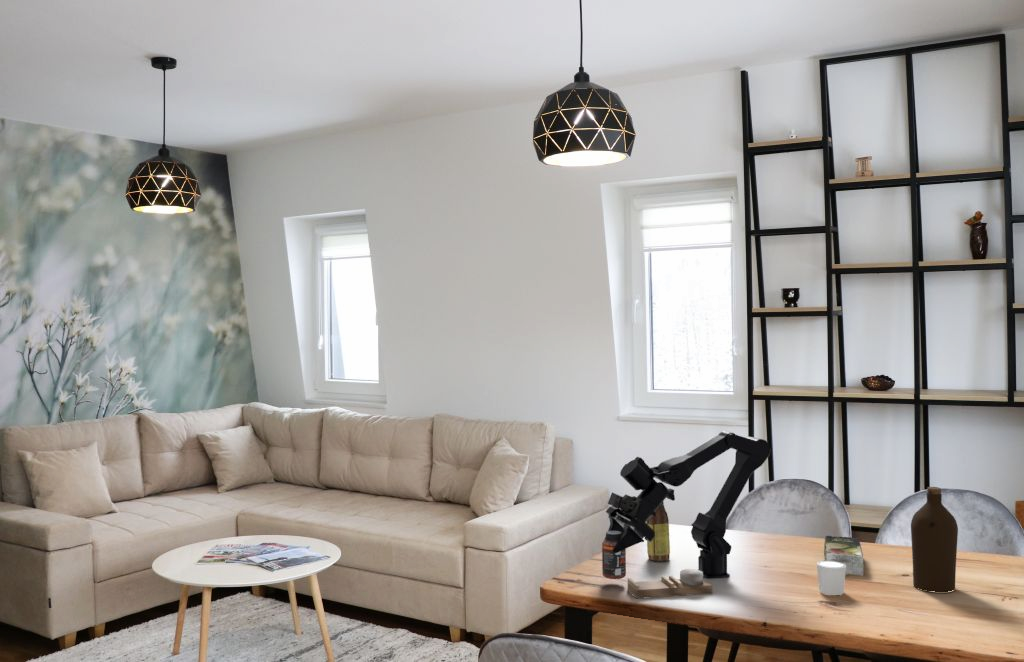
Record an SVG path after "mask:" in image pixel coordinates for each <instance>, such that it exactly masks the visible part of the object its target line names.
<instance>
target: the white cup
mask: <svg viewBox="0 0 1024 662" xmlns="http://www.w3.org/2000/svg"><path fill="white" fill-rule="evenodd" d="M816 571H817V580H818V581H817V582H818V583H817V584H818V591H820V592H821V593H820V592H819V593H820V594H822V593H823V594H822V595H825V594H827V595H826V596H830V595H840V596H843V595H844V593H845V583H846V581H845V580H846V574H845V573H846V565H845V564H843V563H841V562H836V561H825V560H821V561H820V560H819V561H817V562H816ZM842 594H843V595H842Z"/></svg>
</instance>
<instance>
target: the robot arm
mask: <svg viewBox="0 0 1024 662" xmlns="http://www.w3.org/2000/svg"><path fill="white" fill-rule="evenodd" d="M730 449H732V450H736V451H735V458H734V459H735V462H734V465H733V467H732V469H731V471H730V472H729V475H728V476H727V478H726V480H725V481H724V483H723V485H722V487H721V489H720V490H719V493H718V495H717V496H716V498H715V499H714V501H713V503H712V505H711V507H710V508H709V510H708V511H706V512H705V513H702V512H698V513H697V516H696V518H695V520H694V521H693V523H691V526H692V527H691V531H690V534H691V537H692V540H693V541H694V542H695V544H696V545H697V548H698V549H700V551H699V556H698V557H697V558H698V561H697V564H698V567H697V568H698V569H697V570H700V571H702V572H703V577H704V578H706V579H713V578H729V577H730V576H731V575H730V574H729V572H728V555H730V553H731V551H732V545H731V544H730V543H729V542H728V541H727V540H726V539H724V538H725V535H726V532H727V520H728V518H729V516H730V514H731V512H732V510H733V508H734V506H735V505H736V503H737V501H738V499H739V497H740V496H741V493H742V492H743V490H744V488H745V486H746V484H747V482H748V481H749V479H750V478H751V475H752V474H753V473H754V472H755V471H757V470H758V468H760V467H762V466H763V464H764V463H765V462H766V461H767V459H768V458H769V457H770V454H771V447H770V444H769V442H768V441H767V440H765V439H763V438H758V437H754V436H745V437H744V436H741V435H738V434H736V433H734V432H730V431H728V430H727V431H726V430H723V431H720V432H719V433H718V434H717V435H716V436H714V437H712V438H711V439H709V440H708V441H705V443H703V444H700V445H699V446H697V447H696V448H694V449H692V450H691V451H689V452H687V453H686V454H684V455H680V456H677V457H676V456H675V457H672V458H669V459H666V460H664V461H661V462H660V463H659V464H658V465H656V466H653V467H650V466H649V465H648V464H647V463H646V462H645V460H644V458H642V457H641V456H636V457H635V458H634V459H632V460H630V461H629V462H627V463H625V464H624V466H623V467H622V468H621V469H620V473H619V474H620V476H621V477H622V478H623V479H624V480H625V482H627V483H628V484H629V485H630V487H632V488H633V489H634V490H635V491H640V493H639V494H638V495H637V496H634V495H633V496H631V495H629V494H624V495H623V496H622V495H619V494H617V493H615V492H611V494H610V497H609V498H608V501H607V505H610V506H609V507H608V508H607V509H606V511H605V514H607V515H608V518H607V519H609V527H608V530H607V531H620V532H621V533H622V536H621V537H620V539H619V540H618V542H617V543H616V545H615V547H614V548H613V550H612V551H613V552H614V553H618V552H620V551H622V550H624V549H629V548H630V547H633V546H635V545H638V544H639V543H644V542H645V541H646V542H647V541H648V542H650V543H651V541H652V540H653V539H654V538H655V531H654V530H653V529H652V528H651V527H650V526H649V525H648V524H647V523H646V522H647V520H648V519H649V518H650V517H651V516H653V517H655V516H656V513H655V511H656V509H657V508H658V507H659V506H660V504H661V503H662V502H664V501H665V499H668V500H670V501H675V500H676V497H675V489H673V488H668V487H667V486H666V485H665V484H667V485H670V486H672V487H676V488H677V487H680V486H682V485H683V484H684V483H685V482H686V481H688V480H689V479H690V478H691V477H692V475H693V474H694V472H695V471H696V470H698V469H699V468H700V467H702V466H704V465H705V464H707V463H709V462H710V461H712V460H713V459H715V458H717V457H719V456H720V455H722V454H724V453H725V452H727V451H729V450H730ZM654 478H655V479H654ZM657 480H658V481H659V482H657ZM605 539H606V536H605V538H604V540H605ZM604 540H603V541H604Z"/></svg>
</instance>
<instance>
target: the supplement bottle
mask: <svg viewBox="0 0 1024 662" xmlns="http://www.w3.org/2000/svg"><path fill="white" fill-rule="evenodd" d="M621 536H622V533H621V532H620V531H608V530H607V531H605V537H606V539H605V538H604V539H605V540H603V541H602V543H601V555H602V556H601V557H602V559H601V560H602V562H601V563H602V564H601V568H602V571H601V573H602V576H603V577H604V578H605V579H610V580H620V579H623V578H625V577H626V576H627V569H626V568H627V566H626V565H627V563H626V562H627V559H626V558H627V555H626V554H627V551H626V549H627V548H626V549H624V550H622V551H620V552H618V553H614V552H613V551H612V550H613V548H614V547H615V545H616V543H617V542H618V540H619V539H620V537H621Z"/></svg>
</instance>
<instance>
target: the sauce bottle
mask: <svg viewBox="0 0 1024 662" xmlns="http://www.w3.org/2000/svg"><path fill="white" fill-rule="evenodd" d="M664 504H665V503H664V501H663V502H662V503H661V504H660V506H659V507H658V508H657V509H656V511H655V513H656V516H655V517H653V516H651V517H650V518H649V519H648V520H647V521H646V523H647V524H648V525H649V526H650V527H651V528H652V529H653V530H654V531H655V538H654V539H653V540H652V541H651V543H650V542H648V541H646V548H647V549H646V550H647V557H648V560H650V561H653V562H659V561H662V562H667V561H669V560H670V555H671V554H670V553H671V546H670V522H669V521H670V520H669V516H668V512H667V510H666V508H665V505H664Z"/></svg>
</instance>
